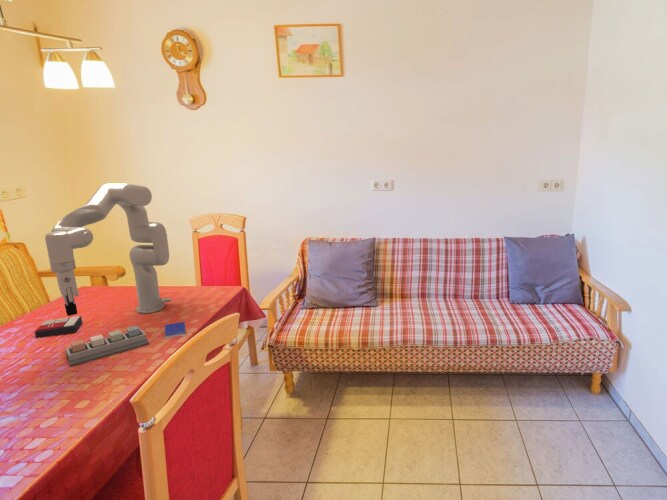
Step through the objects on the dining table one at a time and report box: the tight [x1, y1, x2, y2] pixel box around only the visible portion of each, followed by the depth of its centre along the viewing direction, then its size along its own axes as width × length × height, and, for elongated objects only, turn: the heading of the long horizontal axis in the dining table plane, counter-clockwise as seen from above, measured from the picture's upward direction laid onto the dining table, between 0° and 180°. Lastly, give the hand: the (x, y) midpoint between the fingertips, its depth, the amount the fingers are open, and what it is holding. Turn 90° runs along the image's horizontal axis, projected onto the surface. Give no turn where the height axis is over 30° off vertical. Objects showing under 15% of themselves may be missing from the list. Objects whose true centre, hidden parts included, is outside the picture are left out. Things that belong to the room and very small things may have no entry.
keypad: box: [64, 328, 150, 367], centre depth 167 cm, size 27×14×3 cm, turn 128°
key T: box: [125, 324, 141, 337], centre depth 172 cm, size 4×4×2 cm
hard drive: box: [164, 321, 187, 339], centre depth 182 cm, size 2×8×12 cm
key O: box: [89, 334, 105, 347], centre depth 164 cm, size 4×4×2 cm
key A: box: [108, 329, 123, 342], centre depth 168 cm, size 4×4×2 cm
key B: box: [70, 339, 85, 352], centre depth 160 cm, size 4×4×2 cm
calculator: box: [34, 315, 84, 339], centre depth 184 cm, size 11×4×15 cm
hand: (72, 313), depth 157 cm, fingers closed
